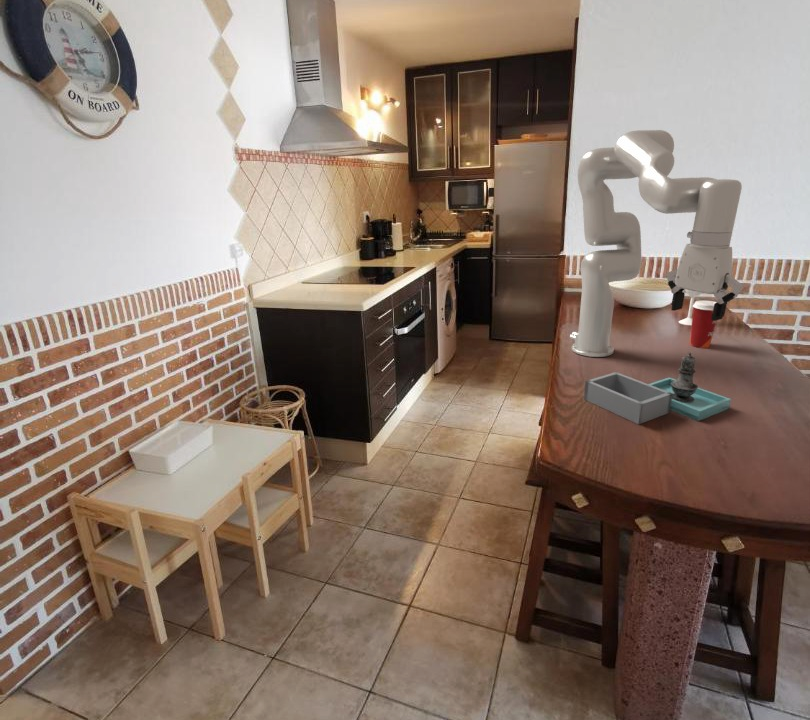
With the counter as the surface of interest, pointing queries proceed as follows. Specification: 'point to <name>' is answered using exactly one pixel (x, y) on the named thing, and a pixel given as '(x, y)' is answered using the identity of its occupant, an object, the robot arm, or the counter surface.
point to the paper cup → (702, 324)
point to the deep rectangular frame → (628, 397)
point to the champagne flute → (689, 320)
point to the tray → (695, 402)
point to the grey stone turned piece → (685, 381)
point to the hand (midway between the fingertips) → (695, 314)
